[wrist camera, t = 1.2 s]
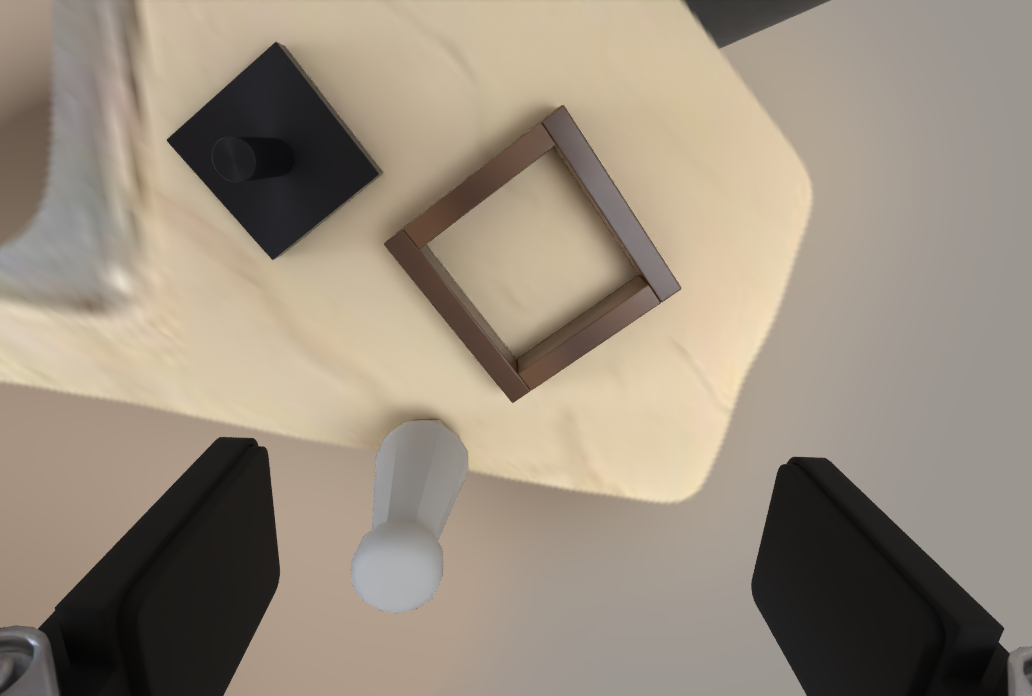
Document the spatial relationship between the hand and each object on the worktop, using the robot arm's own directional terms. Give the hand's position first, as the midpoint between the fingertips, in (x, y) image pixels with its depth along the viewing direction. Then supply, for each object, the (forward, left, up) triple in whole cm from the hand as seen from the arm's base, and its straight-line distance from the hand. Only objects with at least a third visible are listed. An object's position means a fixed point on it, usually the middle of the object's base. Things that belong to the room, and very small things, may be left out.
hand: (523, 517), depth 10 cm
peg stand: (+7, -12, -25) cm, 29 cm away
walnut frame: (-1, +1, -25) cm, 25 cm away
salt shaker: (+12, +7, -25) cm, 29 cm away
